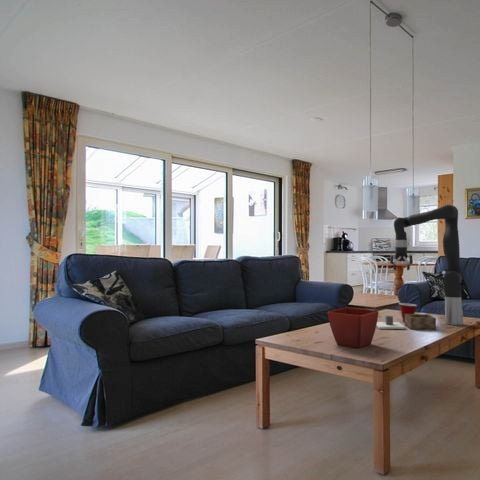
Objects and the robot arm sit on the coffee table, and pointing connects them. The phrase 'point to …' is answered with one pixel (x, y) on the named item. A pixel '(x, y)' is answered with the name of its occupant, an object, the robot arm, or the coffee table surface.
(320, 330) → the coffee table surface
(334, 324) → the plant pot
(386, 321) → the cream lid
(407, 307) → the plastic cup
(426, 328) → the walnut box
